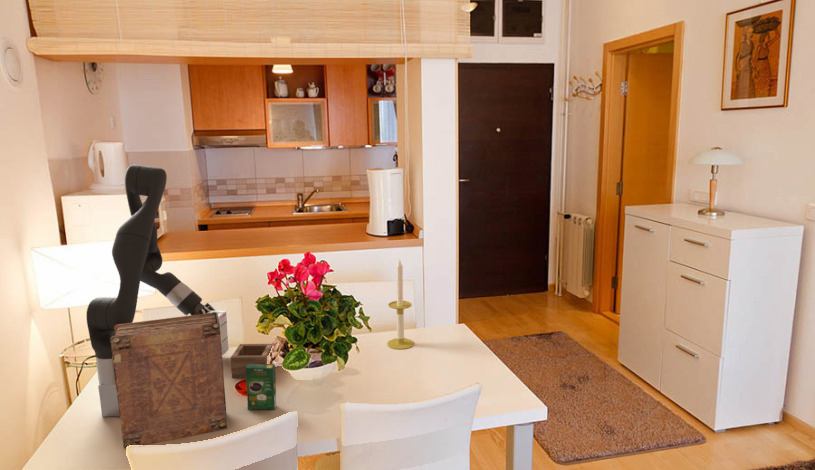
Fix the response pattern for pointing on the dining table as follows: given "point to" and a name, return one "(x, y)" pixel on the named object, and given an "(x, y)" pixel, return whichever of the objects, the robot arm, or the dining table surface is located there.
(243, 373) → the walnut socket
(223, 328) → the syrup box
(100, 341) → the robot arm
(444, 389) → the dining table surface
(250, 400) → the coffee box
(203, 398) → the book
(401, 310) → the candle
